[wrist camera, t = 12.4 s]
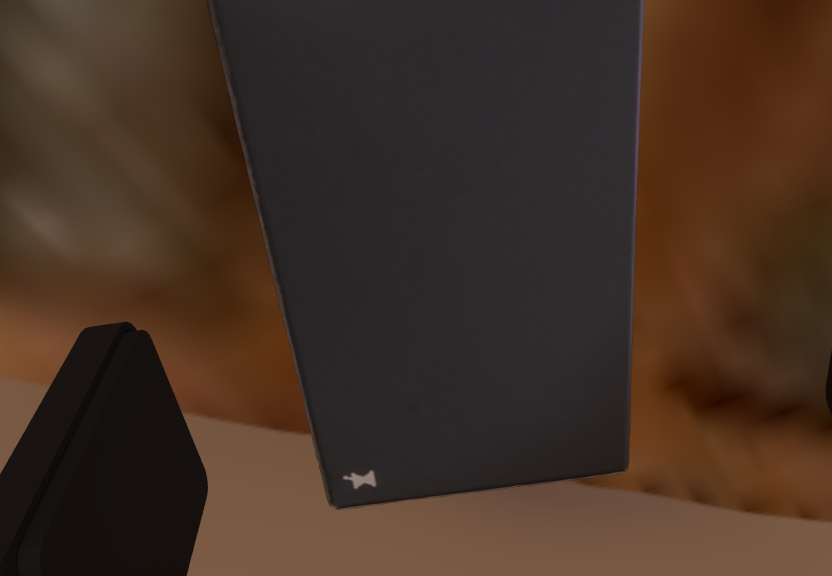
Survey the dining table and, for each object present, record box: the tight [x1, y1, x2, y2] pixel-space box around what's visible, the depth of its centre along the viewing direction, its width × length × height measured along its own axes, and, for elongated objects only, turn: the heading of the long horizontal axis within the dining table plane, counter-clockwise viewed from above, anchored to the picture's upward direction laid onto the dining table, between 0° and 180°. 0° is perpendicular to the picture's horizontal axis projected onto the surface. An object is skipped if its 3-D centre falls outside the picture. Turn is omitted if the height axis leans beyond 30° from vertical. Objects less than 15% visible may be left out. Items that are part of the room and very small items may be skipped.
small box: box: [207, 0, 644, 510], centre depth 17 cm, size 11×6×10 cm, turn 7°
